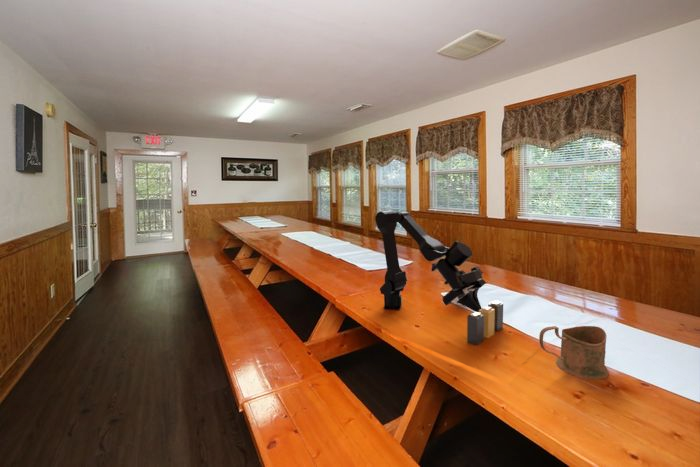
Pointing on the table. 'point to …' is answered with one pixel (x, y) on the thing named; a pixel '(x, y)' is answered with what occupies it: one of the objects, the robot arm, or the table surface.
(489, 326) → the tan faceted column
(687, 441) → the table surface
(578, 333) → the mug
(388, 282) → the robot arm
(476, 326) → the grey columns
